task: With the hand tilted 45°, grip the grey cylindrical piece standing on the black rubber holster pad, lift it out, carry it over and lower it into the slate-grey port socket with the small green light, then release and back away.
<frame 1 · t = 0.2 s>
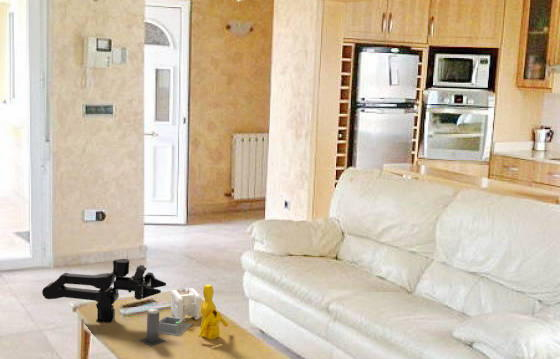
hand: (163, 287, 293), 17 cm above the table, tool horizontal, fingers open, 9 cm apart
grey cylindrical piece: (152, 340, 276), point 1 cm above the table, touching holster pad
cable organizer: (184, 317, 305), on the table
port: (170, 329, 291), on the table
holster pad: (152, 342, 276), on the table
figure statuette: (210, 337, 285), on the table
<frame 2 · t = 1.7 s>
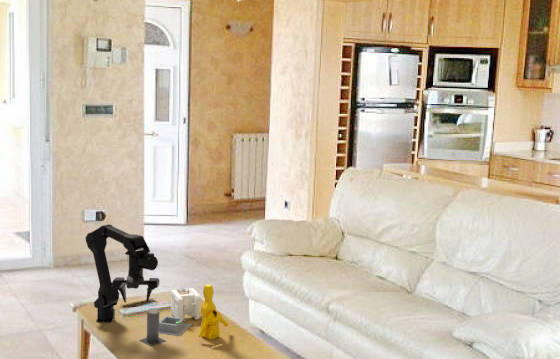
hand: (136, 302, 284), 13 cm above the table, tool pointing down, fingers open, 9 cm apart
nothing on the table moved.
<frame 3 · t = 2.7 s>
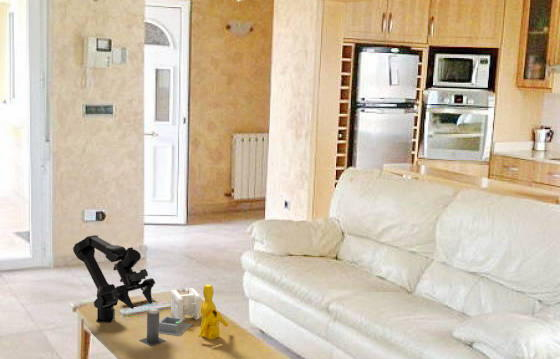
hand: (142, 305, 279), 13 cm above the table, tool tilted 45°, fingers open, 9 cm apart
nothing on the table moved.
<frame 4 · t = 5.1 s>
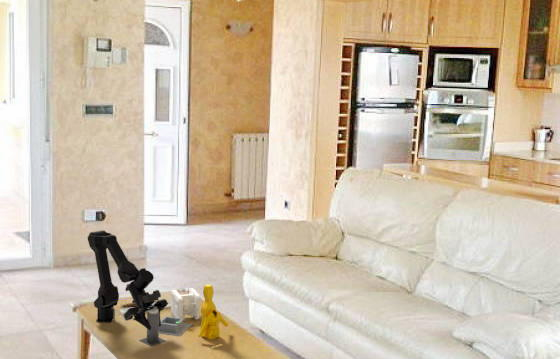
hand: (155, 327, 274), 7 cm above the table, tool tilted 45°, fingers closed on grey cylindrical piece, 5 cm apart
grey cylindrical piece: (152, 340, 276), point 1 cm above the table, touching gripper, holster pad
everything else where it was.
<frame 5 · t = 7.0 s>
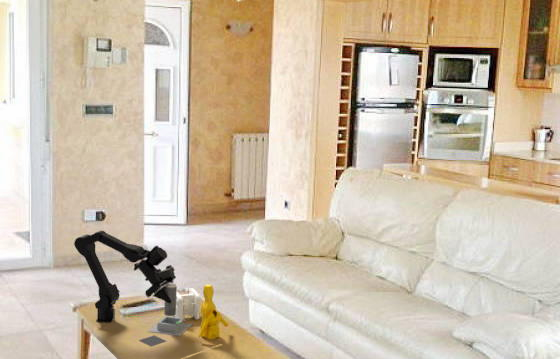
hand: (173, 300, 287), 13 cm above the table, tool tilted 45°, fingers closed on grey cylindrical piece, 5 cm apart
grey cylindrical piece: (170, 313, 288), point 7 cm above the table, touching gripper
everything else where it was.
when the fingers open (7 cm above the table, at t = 8.9 s): grey cylindrical piece stays where it is, resting on port.
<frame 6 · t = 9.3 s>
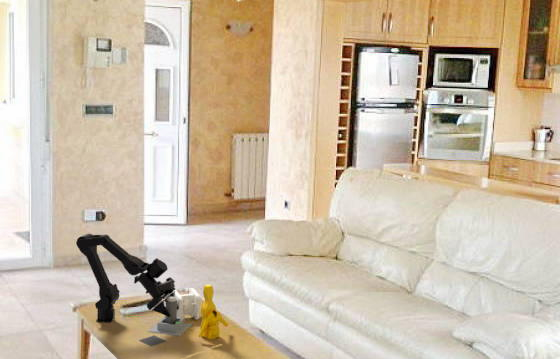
hand: (174, 312, 289), 8 cm above the table, tool tilted 45°, fingers open, 9 cm apart
grey cylindrical piece: (170, 327, 291), point 1 cm above the table, touching port
everything else where it was.
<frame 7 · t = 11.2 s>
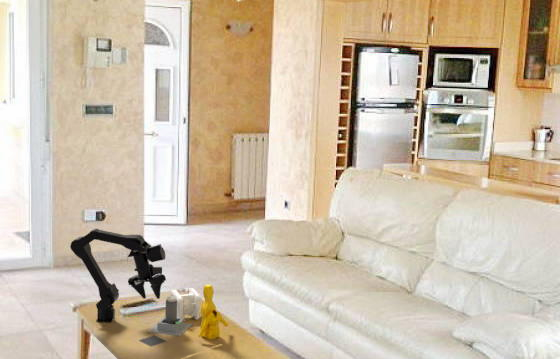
hand: (151, 298, 294), 11 cm above the table, tool tilted 15°, fingers open, 9 cm apart
nothing on the table moved.
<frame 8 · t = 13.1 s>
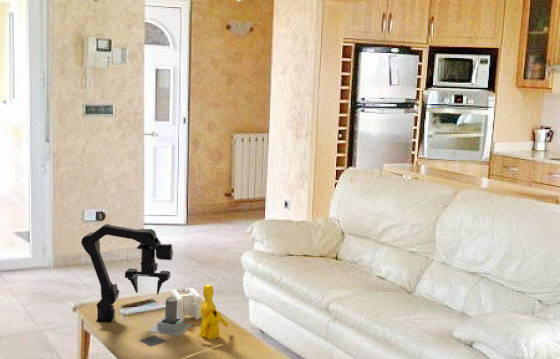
hand: (147, 293, 295), 13 cm above the table, tool pointing down, fingers open, 9 cm apart
nothing on the table moved.
at the end: grey cylindrical piece 0.0 cm off-centre on the port, point 0.8 cm above the port's base; grey cylindrical piece tilted 0°; the gripper is holding nothing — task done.
